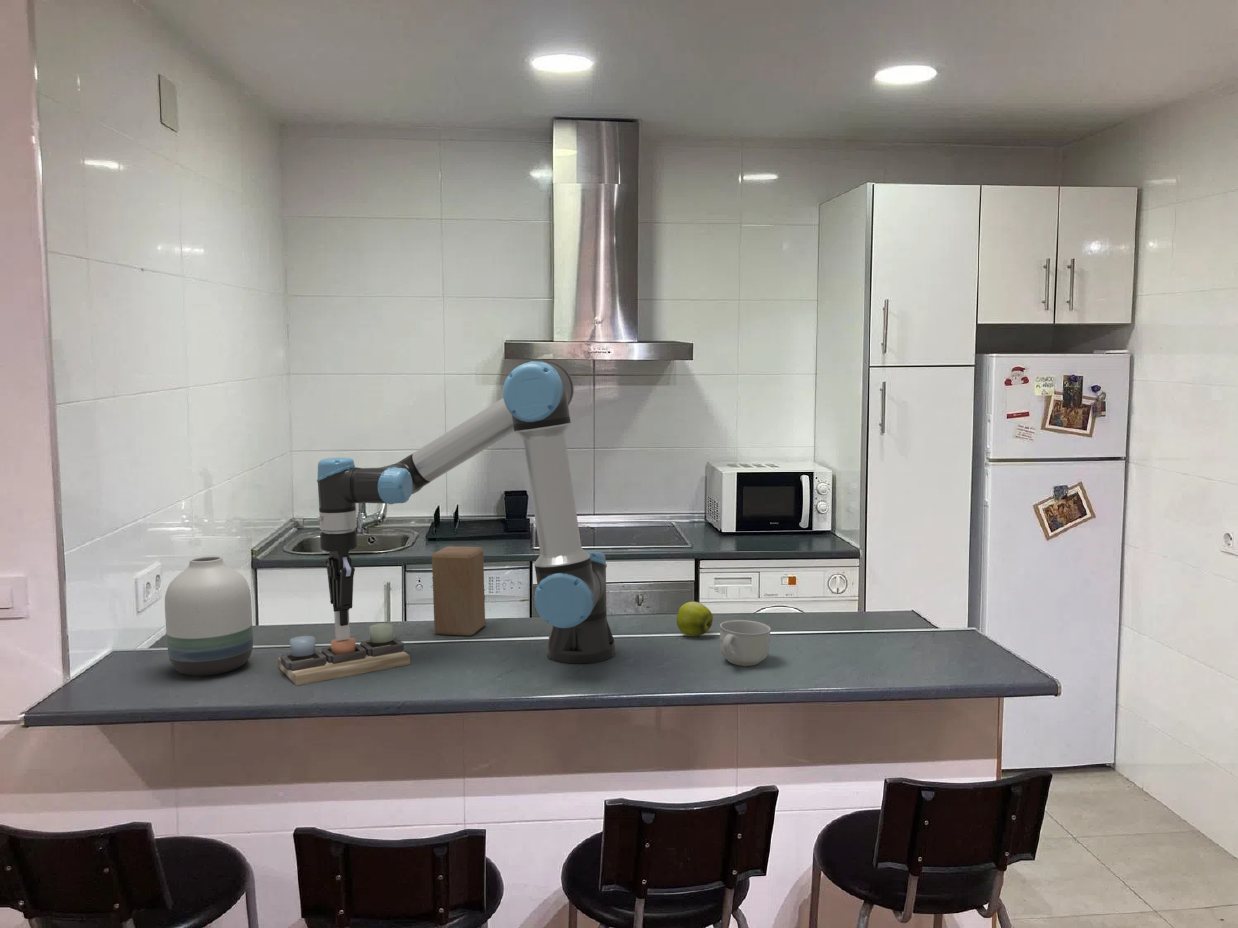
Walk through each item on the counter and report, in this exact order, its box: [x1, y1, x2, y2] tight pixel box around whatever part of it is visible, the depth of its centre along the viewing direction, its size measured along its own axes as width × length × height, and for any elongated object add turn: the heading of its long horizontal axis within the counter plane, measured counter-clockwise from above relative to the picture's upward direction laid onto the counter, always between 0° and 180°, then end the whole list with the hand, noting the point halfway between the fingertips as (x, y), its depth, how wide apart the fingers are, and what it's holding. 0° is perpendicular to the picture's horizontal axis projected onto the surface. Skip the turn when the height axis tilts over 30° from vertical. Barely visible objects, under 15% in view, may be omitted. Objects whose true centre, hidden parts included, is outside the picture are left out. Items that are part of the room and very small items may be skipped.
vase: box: [164, 555, 254, 676], centre depth 204 cm, size 17×17×24 cm
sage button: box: [369, 622, 394, 643], centre depth 210 cm, size 5×5×3 cm
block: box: [431, 545, 486, 637], centre depth 232 cm, size 10×10×20 cm
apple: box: [676, 601, 714, 637], centre depth 225 cm, size 8×9×8 cm
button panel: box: [277, 637, 411, 686], centre depth 206 cm, size 15×25×4 cm, turn 123°
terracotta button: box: [330, 636, 356, 655], centre depth 206 cm, size 5×5×3 cm
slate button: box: [289, 635, 317, 656], centre depth 201 cm, size 5×5×3 cm
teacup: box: [719, 619, 772, 667], centre depth 203 cm, size 14×11×8 cm
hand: (342, 638), depth 206 cm, fingers closed
